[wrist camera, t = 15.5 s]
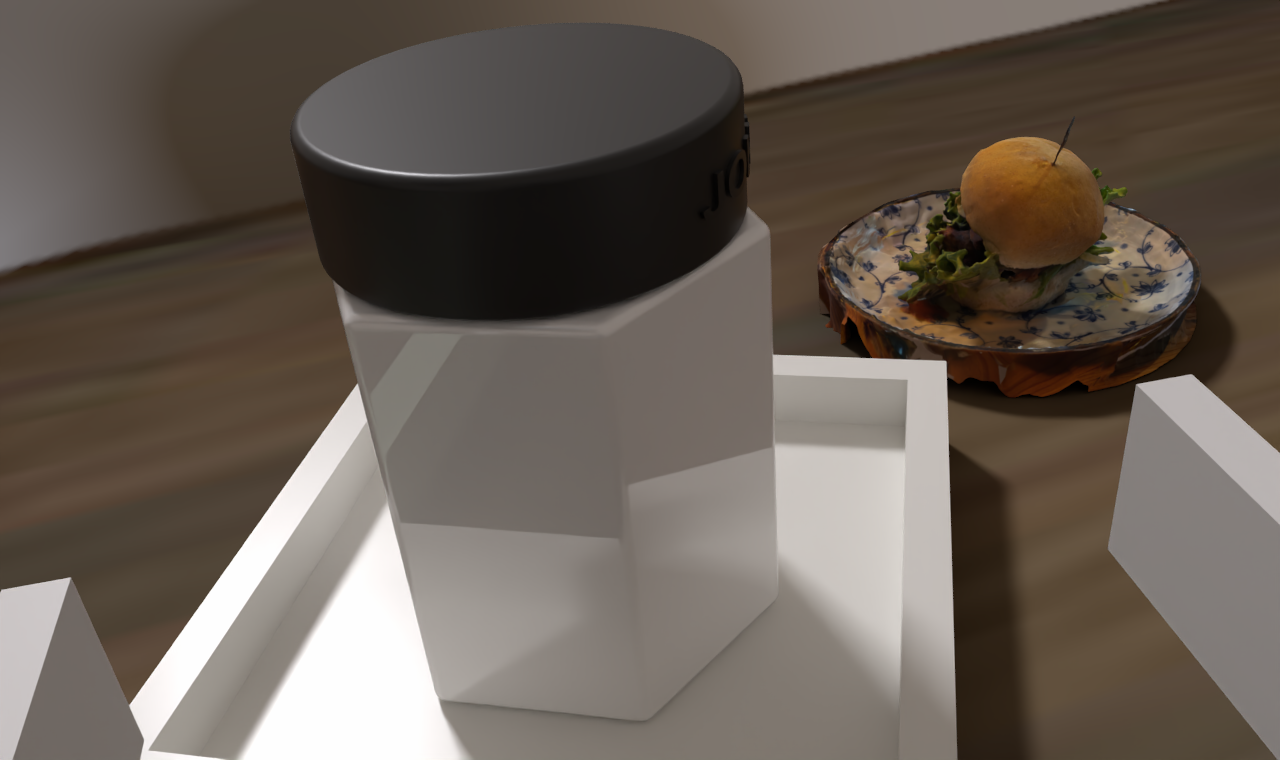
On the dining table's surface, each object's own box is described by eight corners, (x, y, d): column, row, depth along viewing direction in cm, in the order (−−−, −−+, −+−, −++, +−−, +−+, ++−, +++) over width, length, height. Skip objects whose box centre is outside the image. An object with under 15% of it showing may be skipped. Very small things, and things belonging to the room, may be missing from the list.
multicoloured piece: (1133, 219, 44) (1163, 16, 40) (1255, 396, 34) (1312, 149, 30) (805, 237, 45) (803, 40, 41) (832, 413, 35) (833, 177, 31)
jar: (832, 668, 25) (838, 124, 19) (452, 789, 23) (311, 232, 17) (685, 440, 32) (652, -8, 26) (387, 519, 31) (270, 58, 24)
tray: (113, 870, 24) (71, 788, 22) (403, 411, 37) (387, 341, 35) (951, 988, 20) (960, 899, 19) (941, 436, 33) (946, 360, 32)
